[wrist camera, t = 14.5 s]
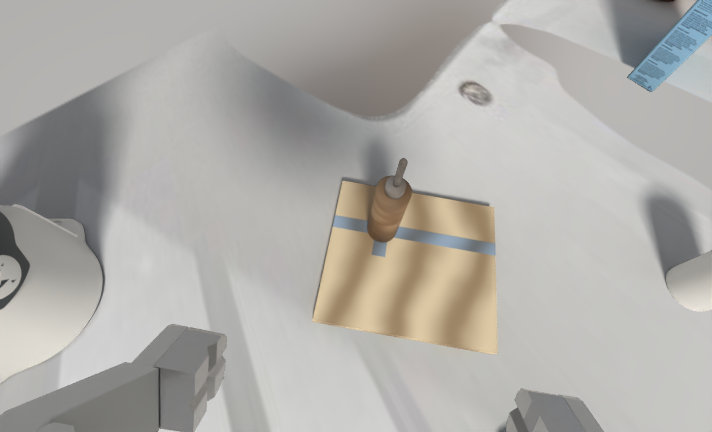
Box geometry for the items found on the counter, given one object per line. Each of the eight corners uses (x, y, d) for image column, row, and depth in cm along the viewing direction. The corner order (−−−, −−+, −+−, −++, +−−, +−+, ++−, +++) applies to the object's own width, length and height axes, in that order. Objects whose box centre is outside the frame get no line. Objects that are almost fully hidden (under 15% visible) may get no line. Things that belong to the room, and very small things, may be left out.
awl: (365, 239, 42) (381, 173, 30) (369, 213, 44) (386, 140, 31) (394, 244, 42) (423, 180, 30) (397, 218, 44) (425, 147, 31)
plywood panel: (313, 321, 39) (312, 319, 38) (342, 185, 47) (342, 180, 46) (492, 354, 39) (497, 353, 37) (490, 211, 47) (494, 207, 46)
